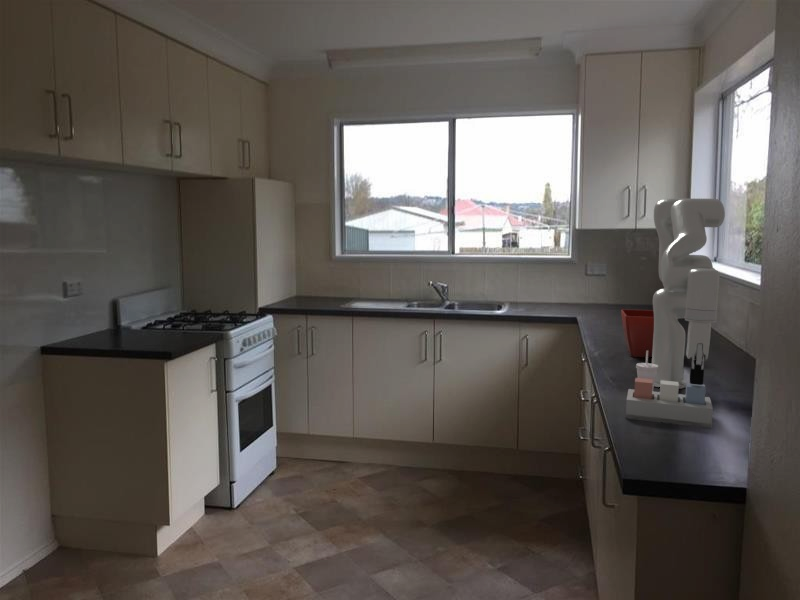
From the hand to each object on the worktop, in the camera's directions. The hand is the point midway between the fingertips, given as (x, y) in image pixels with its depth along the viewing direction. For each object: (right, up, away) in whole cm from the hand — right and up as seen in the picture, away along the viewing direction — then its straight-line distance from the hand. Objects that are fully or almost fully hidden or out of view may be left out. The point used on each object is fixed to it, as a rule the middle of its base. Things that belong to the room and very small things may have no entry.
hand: (696, 383), depth 172 cm
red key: (-12, -4, +6) cm, 14 cm away
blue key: (0, -5, +1) cm, 5 cm away
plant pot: (+19, 0, +86) cm, 88 cm away
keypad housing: (-6, -10, +4) cm, 12 cm away
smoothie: (-4, -7, +24) cm, 26 cm away
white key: (-6, -5, +3) cm, 8 cm away
